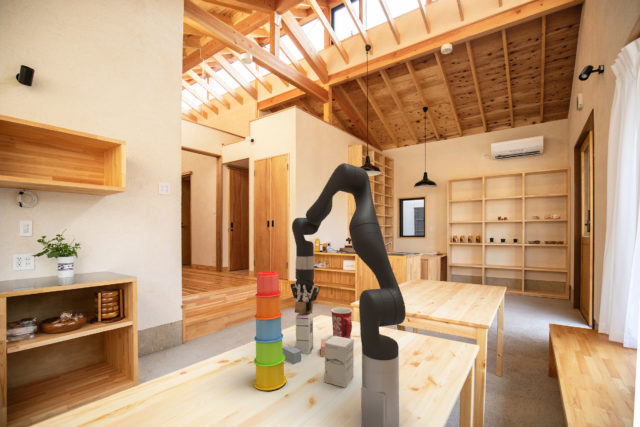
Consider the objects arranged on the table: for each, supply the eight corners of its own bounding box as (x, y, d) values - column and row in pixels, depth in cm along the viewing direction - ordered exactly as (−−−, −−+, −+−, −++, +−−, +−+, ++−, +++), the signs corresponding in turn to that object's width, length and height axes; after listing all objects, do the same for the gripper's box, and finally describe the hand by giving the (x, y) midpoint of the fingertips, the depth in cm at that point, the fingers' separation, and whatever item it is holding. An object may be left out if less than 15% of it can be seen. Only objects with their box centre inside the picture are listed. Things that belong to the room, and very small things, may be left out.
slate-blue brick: (301, 361, 107) (301, 350, 107) (294, 364, 105) (294, 353, 105) (289, 355, 112) (289, 345, 112) (281, 358, 110) (282, 347, 110)
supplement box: (323, 382, 92) (323, 342, 93) (333, 372, 99) (333, 334, 100) (345, 389, 89) (345, 346, 90) (354, 377, 96) (354, 338, 96)
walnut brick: (301, 313, 113) (302, 303, 113) (294, 312, 115) (295, 301, 115) (312, 312, 118) (313, 302, 119) (305, 311, 120) (306, 301, 121)
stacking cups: (254, 394, 86) (255, 275, 88) (252, 376, 96) (254, 270, 97) (289, 389, 89) (289, 274, 90) (284, 372, 99) (284, 269, 100)
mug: (328, 339, 128) (328, 308, 128) (347, 336, 131) (347, 306, 131) (339, 351, 116) (339, 316, 116) (359, 348, 119) (359, 314, 119)
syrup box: (310, 354, 113) (310, 316, 113) (295, 353, 114) (295, 315, 115) (313, 348, 118) (313, 312, 119) (299, 347, 120) (299, 311, 120)
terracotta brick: (330, 357, 111) (330, 346, 111) (320, 357, 111) (320, 346, 111) (329, 349, 118) (329, 339, 118) (320, 349, 118) (320, 339, 118)
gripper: (285, 266, 119) (285, 309, 118) (313, 269, 111) (313, 316, 110) (297, 264, 125) (297, 305, 124) (324, 267, 117) (324, 311, 116)
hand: (304, 310), depth 117 cm, fingers closed on walnut brick, 3 cm apart
